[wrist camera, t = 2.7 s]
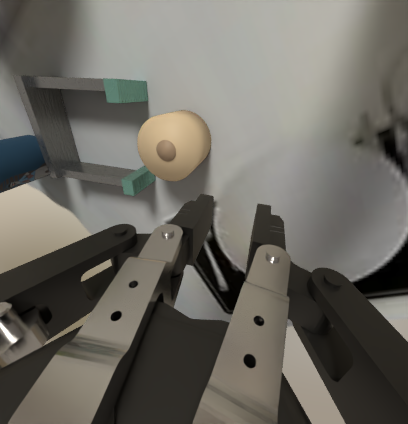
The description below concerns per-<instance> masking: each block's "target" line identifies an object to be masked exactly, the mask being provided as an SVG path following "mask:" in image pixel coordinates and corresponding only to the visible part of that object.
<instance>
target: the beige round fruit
mask: <svg viewBox="0 0 408 424" xmlns="http://www.w3.org/2000/svg"><path fill="white" fill-rule="evenodd" d="M210 148H211V135H210V131H209V128H208V126H207V124H206V123H205V122H204V120H203V119H202V118H201V117H200V116H198V115H197V114H195V113H193V112H191V111H186V110H181V111H176V112H171V113H167V114H162V115H158V116H154V117H152V118H150V119H148V120H147V121H146V122H145V123H144V124H143V125H142V127H141V129H140V131H139V134H138V151H139V154H140V157H141V160H142V161H143V163H144V165H145V166H146V167H147V169H148V170H149V171H150V172H151V173H152V174H154V175H155V176H157V177H158V178H160V179H163V180H166V181H178V180H181V179H184V178H185V177H187V176H188V175H189V174H190V173H191V172H192V171H193V170H194V169H195V168H196V167H197V166H198V165H199V164H200V163H201V162H202V161H203V160H204V159H205V158H206V157H207V155H208V153H209V151H210Z"/></svg>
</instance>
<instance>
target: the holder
mask: <svg viewBox="0 0 408 424" xmlns="http://www.w3.org/2000/svg"><path fill="white" fill-rule="evenodd" d="M13 77H14V80H15V82H16V85H17V88H18V90H19V93H20V96H21V98H22V101H23V104H24V106H25V109H26V112H27V114H28V117H29V120H30V123H31V125H32V128H33V131H34V133H35V136H36V139H37V141H38V144H39V147H40V149H41V152H42V155H43V157H44V160H45V163H46V165H47V168H48V171H49V174H50V176H51V178H60V177H62V176H63V177H69V178H75V179H81V180H87V181H92V182H98V183H104V184H110V185H115V186H121V187H123V191H124V194H126V195H132V196H135V195H136V194H137V193H139V192H140V191H141V190H143V189H144V188H145V187H147V186H148V185H149V184H151V183H152V182H153V181H155V175H154V174H152V173H151V172H150V171H149V170H148V169H147V167H146V166H143V167H142V168H140V169H138V170H131V169H124V168H118V167H111V166H104V165H98V164H91V163H84V162H80V160H79V157H78V153H77V149H76V146H75V142H74V139H73V135H72V132H71V128H70V125H69V121H68V118H67V114H66V110H65V107H64V103H63V100H62V96H61V93H60V89H75V90H93V91H105V93H106V99H107V102H109V103H129V102H142V101H148V95H147V84H146V81H136V80H123V79H91V78H66V77H40V76H18V75H13Z"/></svg>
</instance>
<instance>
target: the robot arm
mask: <svg viewBox="0 0 408 424" xmlns="http://www.w3.org/2000/svg"><path fill="white" fill-rule="evenodd" d="M213 202H214V197H213V196H210V195H204V194H201V195H200V196H199V197H198V199H197V200H196V201H189V202H187V203H186V204H184V206H183V207H182V208H181V209H180V211H179V212H178V213H177V214H176V216H175V217H174V218H173V219H172V221H171V222H170V223H169V224H165V225H161V226H159V227H157V228H156V229H155V230H154V231H153V233H152V234H136V229H135V227H134V226H132V225H129V224H119V225H115V226H113V227H110V228H108V229H105V230H103V231H101V232H98V233H96V234H94V235H91V236H89V237H87V238H84V239H82V240H80V241H77V242H75V243H73V244H70V245H68V246H66V247H63V248H61V249H58V250H56V251H54V252H52V253H49V254H47V255H44V256H42V257H40V258H37V259H35V260H33V261H30V262H28V263H26V264H23V265H21V266H18V267H16V268H14V269H11V270H9V271H7V272H4V273H2V274H0V424H312V423H311V422H310V420H309V418H308V416H307V415H306V413H305V411H304V409H303V408H302V406H301V404H300V402H299V401H298V399H297V397H296V395H295V393H294V392H293V390H292V388H291V387H290V385H289V383H288V381H287V380H286V378H285V376H284V374H283V373H282V367H283V357H284V348H285V338H286V328H287V319H290V320H291V321H292V323H293V326H294V328H295V330H296V332H297V334H298V336H299V337H300V339H301V341H302V343H303V345H304V347H305V349H306V350H307V352H308V354H309V356H310V358H311V360H312V361H313V364H314V365H315V367H316V369H317V371H318V373H319V375H320V377H321V378H322V380H323V382H324V384H325V386H326V388H327V390H328V391H329V393H330V395H331V397H332V399H333V401H334V403H335V404H336V406H337V408H338V410H339V412H340V414H341V416H342V417H343V419H344V421H345V423H346V424H408V342H407V341H406V340H405V339H404V338H403V337H402V336H401V334H400V333H399V332H398V331H397V330H396V329H395V328H394V327H393V326H392V325H391V324H390V323H389V322H388V321H387V320H386V319H385V318H384V317H383V315H382V314H381V313H380V312H379V311H378V310H377V309H376V308H375V307H374V306H373V305H372V304H371V303H370V302H369V301H368V300H367V299H366V298H365V297H364V295H363V294H362V293H361V292H360V291H359V290H358V289H357V288H356V287H355V286H354V285H353V284H352V283H351V282H350V281H349V280H348V279H347V278H346V277H345V276H343V275H342V274H340V273H339V272H337V271H334V270H332V269H328V268H317V269H315V270H313V272H312V273H311V272H309V271H307V270H304V269H302V268H300V267H298V266H297V265H295V264H294V263H293V262H292V261H291V258H290V256H289V254H288V253H287V252H286V246H285V234H284V222H283V220H282V219H281V218H280V216H277V215H271V206H270V205H264V204H258V205H257V209H256V214H255V219H254V225H253V230H252V235H251V242H250V248H249V255H248V261H247V267H246V274H245V279H247V280H246V281H245V282H244V284H243V286H242V289H241V292H240V295H239V298H238V301H237V303H236V306H235V309H234V312H233V315H232V318H231V320H230V323H228V322H225V321H222V320H200V319H191V318H189V317H187V316H185V315H184V314H182V313H181V312H179V311H177V310H176V309H174V305H175V301H176V298H177V295H178V291H179V288H180V285H181V281H182V278H183V274H184V272H183V270H184V268H185V266H186V264H187V265H191V266H193V264H194V262H195V260H196V258H197V256H198V253H199V251H200V249H201V247H202V245H203V243H204V240H205V238H206V236H207V234H208V232H209V230H210V227H211V224H212V216H213ZM109 259H111V263H112V266H110V267H109V268H107V269H105V270H103V271H102V272H100V273H98V274H96V275H94V276H93V277H91V278H89V279H87V280H85V281H83V282H81V277H82V275H83V274H84V273H85V272H86V271H88V270H90V269H92V268H94V267H95V266H97V265H99V264H101V263H103V262H105V261H107V260H109ZM90 312H92V313H91V314H90V315H89V317H88V319H87V320H86V322H85V323H84V325H82V326H80V327H78V328H76V329H75V330H73V331H71V332H69V333H67V334H65V335H64V336H62V337H59V338H58V339H56V340H54V341H52V342H50V343H48V344H46V345H44V344H45V343H46V341H48V340H49V339H51V338H52V337H54V336H55V335H57V334H58V333H60V332H61V331H63V330H64V329H66V328H67V327H69V326H70V325H72V324H73V323H75V322H76V321H78V320H79V319H81V318H82V317H84V316H86V315H87V314H89V313H90ZM43 345H44V346H43Z"/></svg>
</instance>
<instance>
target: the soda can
mask: <svg viewBox="0 0 408 424" xmlns="http://www.w3.org/2000/svg"><path fill="white" fill-rule="evenodd" d="M47 175H50V174H49V171H48V168H47V165H46V163H45V160H44V157H43V155H42V152H41V149H40V147H39V144H38V141H37V139H36V136H32V135H25V136H20V137H14V138H9V139H3V140H0V193H1V192H4V191H7V190H10V189H12V188H15V187H18V186H20V185H23V184H26V183H29V182H31V181H34V180H37V179H39V178H42V177H45V176H47Z"/></svg>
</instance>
